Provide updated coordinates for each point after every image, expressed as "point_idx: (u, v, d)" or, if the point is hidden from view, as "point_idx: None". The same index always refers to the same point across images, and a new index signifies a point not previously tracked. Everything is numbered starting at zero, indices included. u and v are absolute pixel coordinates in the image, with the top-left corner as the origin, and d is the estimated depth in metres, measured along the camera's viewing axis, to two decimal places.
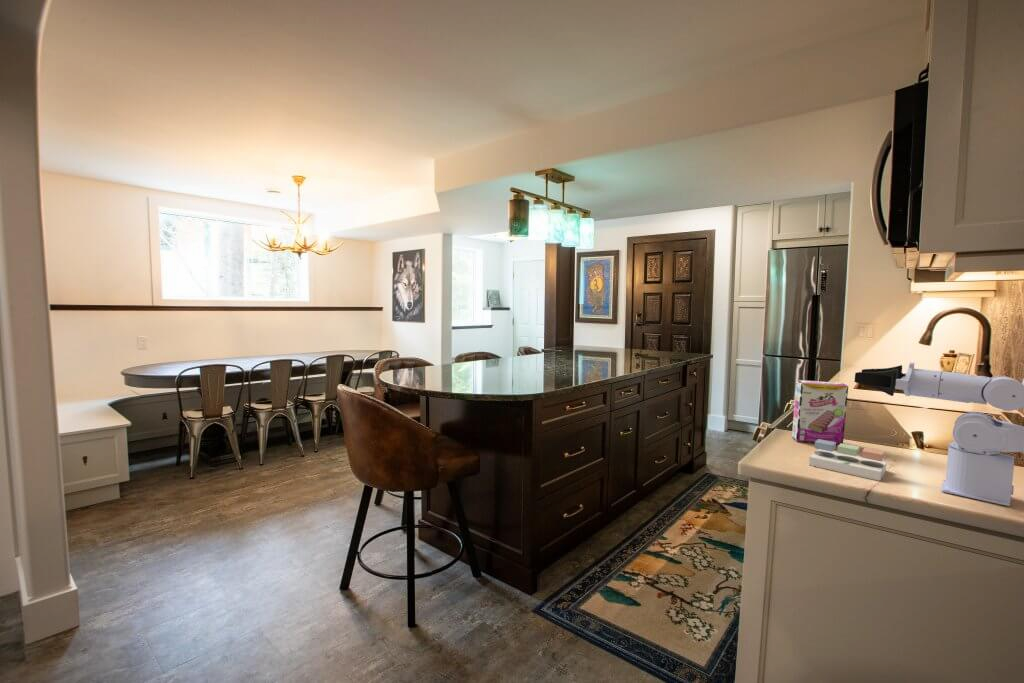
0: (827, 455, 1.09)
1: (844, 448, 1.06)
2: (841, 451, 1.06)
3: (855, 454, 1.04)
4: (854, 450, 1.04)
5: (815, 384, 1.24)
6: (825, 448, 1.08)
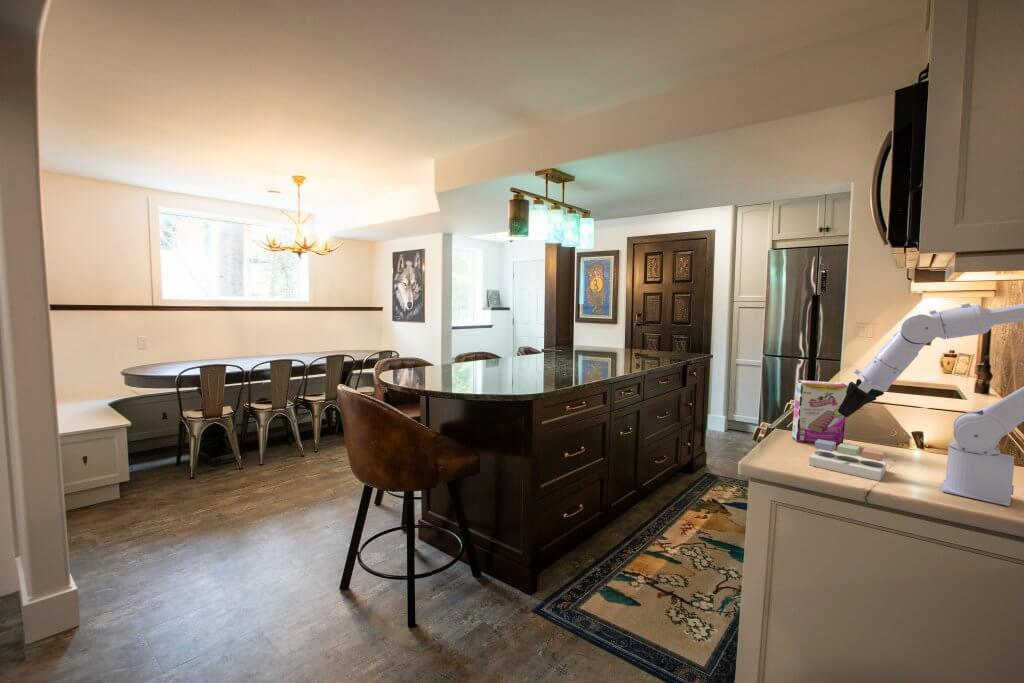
0: (827, 455, 1.09)
1: (844, 448, 1.06)
2: (841, 451, 1.06)
3: (855, 454, 1.04)
4: (854, 450, 1.04)
5: (815, 384, 1.24)
6: (825, 448, 1.08)
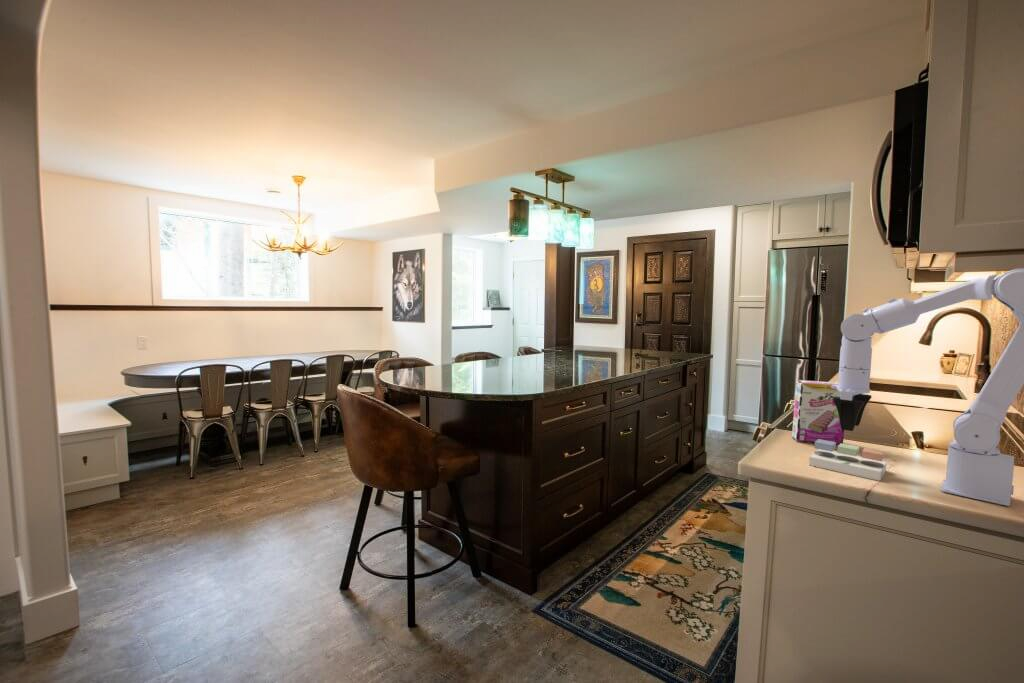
0: (827, 455, 1.09)
1: (844, 448, 1.06)
2: (841, 451, 1.06)
3: (855, 454, 1.04)
4: (854, 450, 1.04)
5: (815, 384, 1.24)
6: (825, 448, 1.08)
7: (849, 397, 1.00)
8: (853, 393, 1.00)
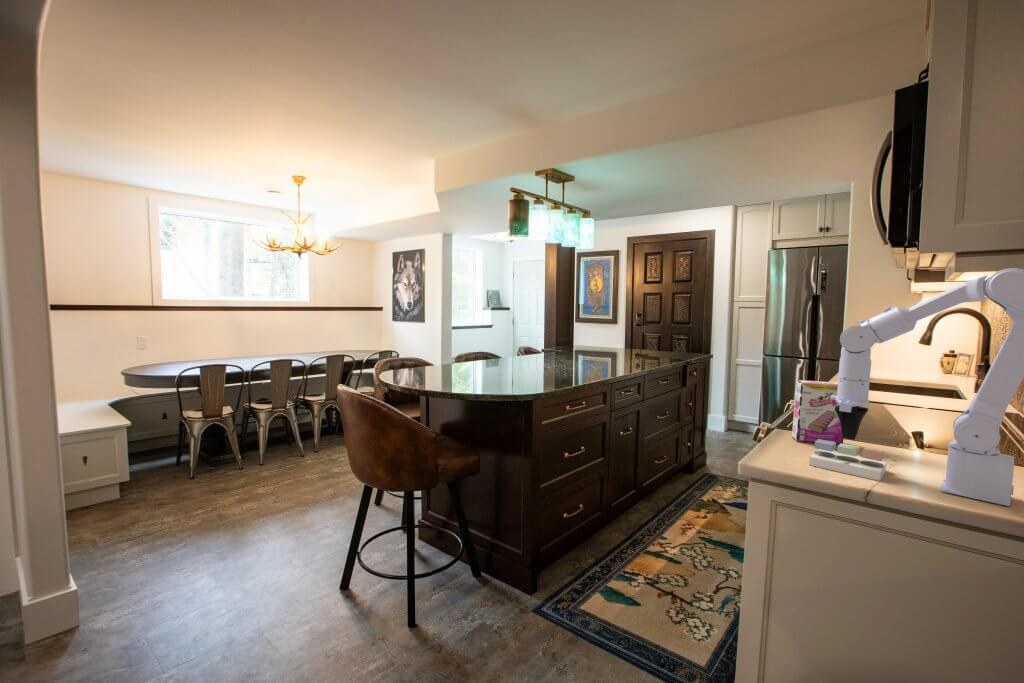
0: (827, 455, 1.09)
1: (844, 448, 1.06)
2: (841, 451, 1.06)
3: (855, 454, 1.04)
4: (854, 450, 1.04)
5: (815, 384, 1.24)
6: (825, 448, 1.08)
7: (848, 409, 1.00)
8: (852, 405, 1.01)
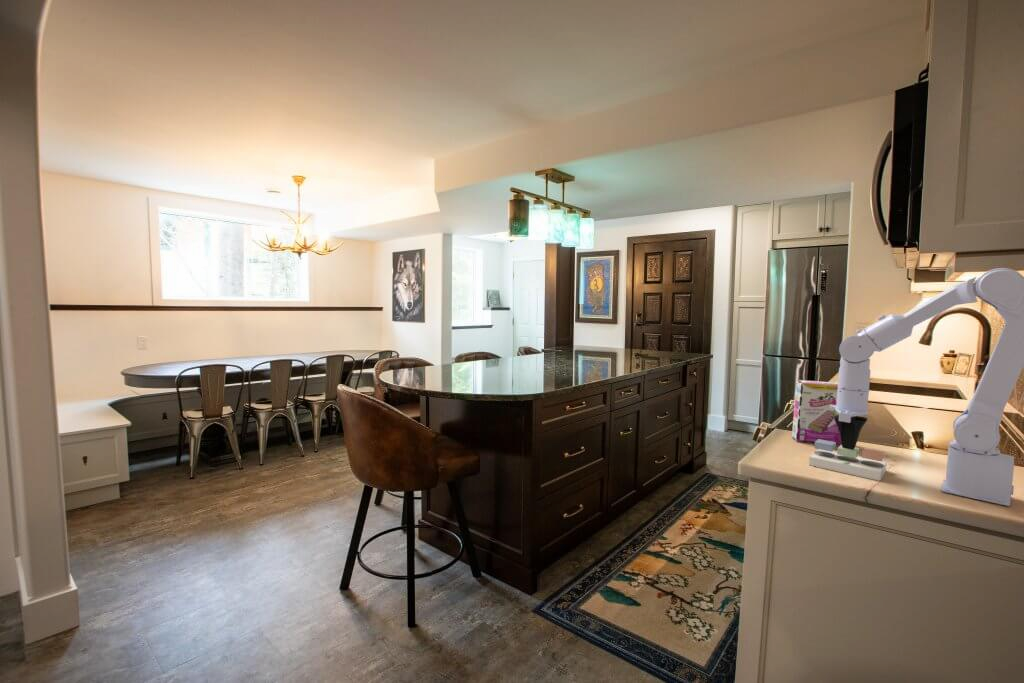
0: (827, 455, 1.09)
1: (844, 450, 1.06)
2: (841, 453, 1.06)
3: (855, 456, 1.04)
4: (854, 452, 1.04)
5: (815, 384, 1.24)
6: (825, 448, 1.08)
7: (847, 419, 1.00)
8: (851, 415, 1.01)
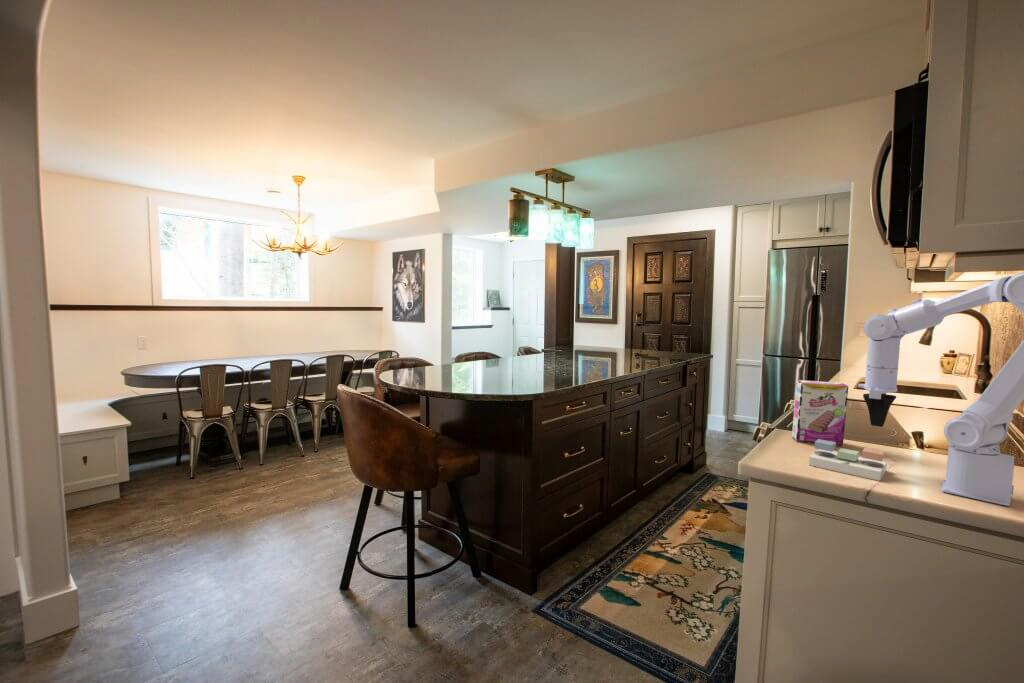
0: (827, 455, 1.09)
1: (844, 453, 1.06)
2: (841, 456, 1.06)
3: (855, 459, 1.04)
4: (854, 455, 1.05)
5: (815, 384, 1.24)
6: (825, 448, 1.08)
7: (878, 396, 1.02)
8: (882, 392, 1.02)
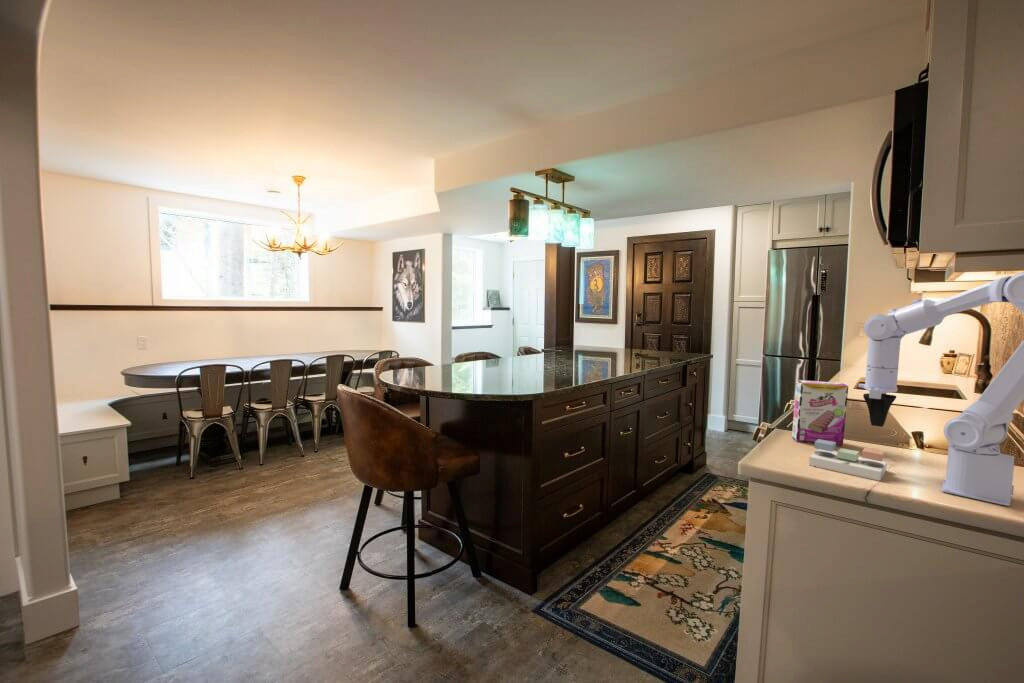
0: (827, 455, 1.09)
1: (844, 453, 1.06)
2: (841, 456, 1.06)
3: (855, 459, 1.04)
4: (854, 455, 1.05)
5: (815, 384, 1.24)
6: (825, 448, 1.08)
7: (878, 396, 1.02)
8: (882, 392, 1.02)
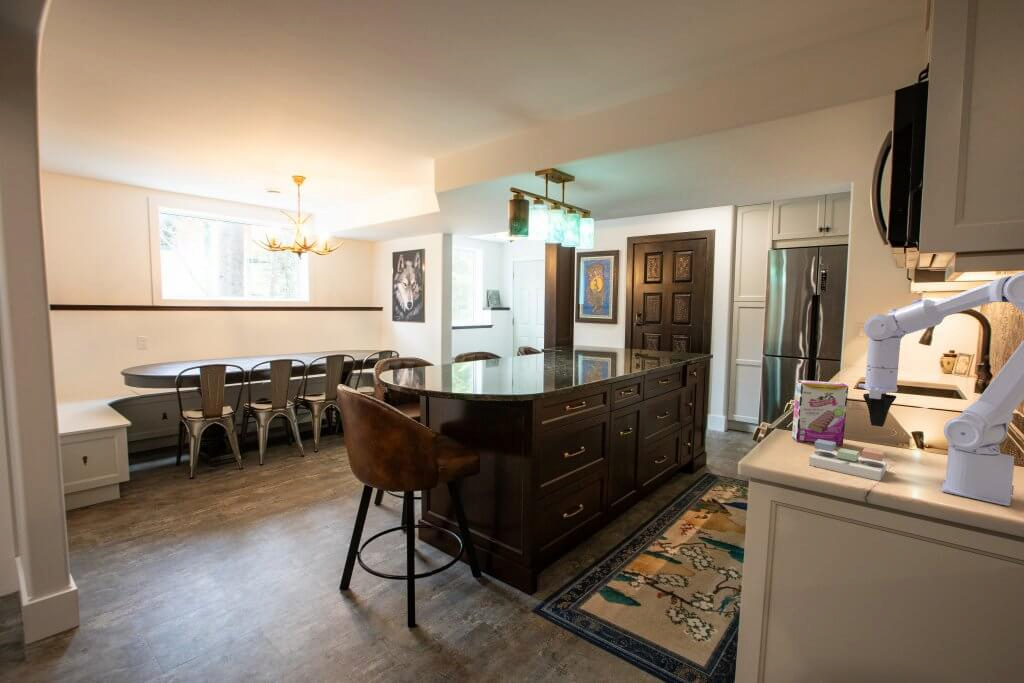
0: (827, 455, 1.09)
1: (844, 453, 1.06)
2: (841, 456, 1.06)
3: (855, 459, 1.04)
4: (854, 455, 1.05)
5: (815, 384, 1.24)
6: (825, 448, 1.08)
7: (878, 396, 1.02)
8: (882, 392, 1.02)
